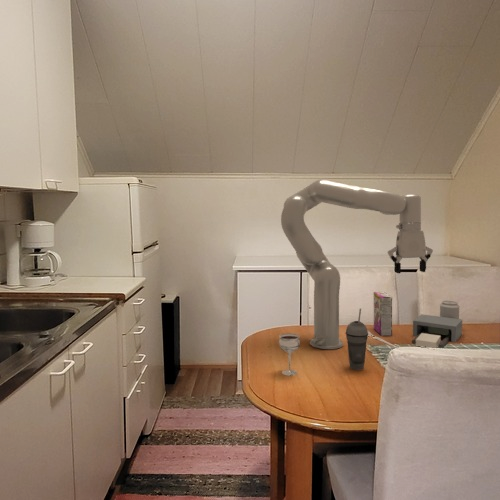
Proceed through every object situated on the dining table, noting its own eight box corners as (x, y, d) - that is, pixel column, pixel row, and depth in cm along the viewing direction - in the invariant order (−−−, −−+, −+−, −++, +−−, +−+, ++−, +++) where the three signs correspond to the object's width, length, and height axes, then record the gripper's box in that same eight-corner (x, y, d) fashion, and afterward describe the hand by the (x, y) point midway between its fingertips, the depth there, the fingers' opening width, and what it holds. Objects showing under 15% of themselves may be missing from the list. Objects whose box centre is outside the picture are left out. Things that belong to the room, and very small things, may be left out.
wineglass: (274, 372, 135) (274, 336, 134) (288, 367, 140) (288, 331, 139) (291, 378, 130) (290, 340, 129) (304, 372, 135) (304, 336, 134)
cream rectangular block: (435, 350, 154) (435, 342, 154) (415, 347, 158) (415, 339, 158) (440, 343, 163) (440, 335, 162) (421, 340, 166) (421, 333, 166)
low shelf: (449, 349, 154) (450, 332, 153) (405, 341, 164) (405, 326, 163) (461, 334, 172) (462, 319, 171) (421, 328, 181) (421, 314, 181)
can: (440, 330, 177) (441, 303, 176) (438, 326, 184) (438, 299, 183) (460, 332, 175) (461, 304, 174) (457, 327, 182) (457, 300, 181)
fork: (395, 351, 155) (396, 346, 155) (362, 335, 174) (362, 331, 174) (402, 350, 157) (403, 345, 156) (368, 334, 175) (369, 330, 175)
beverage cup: (351, 362, 143) (351, 304, 141) (371, 366, 138) (372, 307, 137) (341, 368, 137) (341, 308, 136) (362, 373, 133) (362, 311, 131)
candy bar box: (372, 328, 183) (373, 291, 181) (384, 328, 183) (384, 291, 181) (380, 336, 172) (380, 296, 170) (392, 336, 171) (392, 296, 170)
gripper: (392, 228, 153) (392, 274, 155) (437, 226, 155) (437, 272, 156) (383, 228, 161) (384, 272, 162) (427, 226, 162) (427, 269, 164)
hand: (410, 272), depth 159 cm, fingers open, 9 cm apart
